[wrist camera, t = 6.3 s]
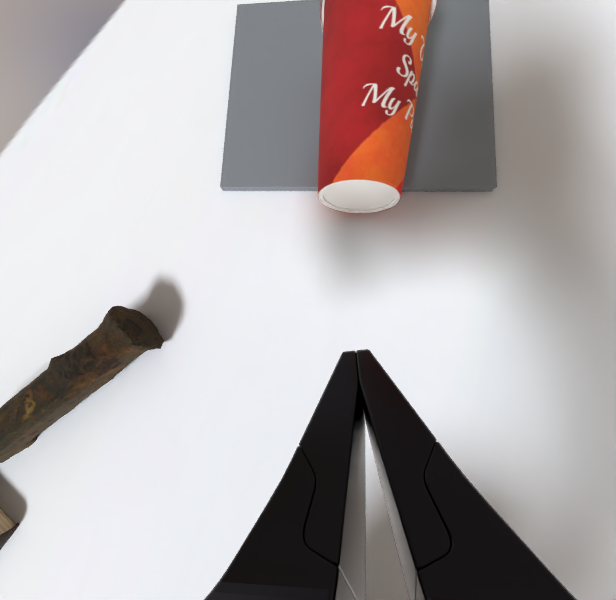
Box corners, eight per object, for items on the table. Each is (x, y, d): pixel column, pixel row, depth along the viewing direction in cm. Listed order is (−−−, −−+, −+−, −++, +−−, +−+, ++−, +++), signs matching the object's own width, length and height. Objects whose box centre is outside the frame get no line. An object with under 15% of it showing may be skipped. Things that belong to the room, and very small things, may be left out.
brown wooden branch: (148, 305, 21) (98, 298, 17) (172, 344, 21) (127, 347, 16) (-31, 439, 21) (-130, 469, 17) (-12, 482, 21) (-109, 524, 16)
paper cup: (411, 158, 12) (438, -132, 12) (279, 181, 16) (300, -41, 16) (423, 214, 19) (440, 28, 19) (330, 221, 23) (344, 66, 23)
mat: (491, 190, 20) (496, 186, 19) (223, 190, 22) (220, 186, 21) (483, -3, 22) (488, -12, 22) (239, 12, 24) (237, 4, 23)
